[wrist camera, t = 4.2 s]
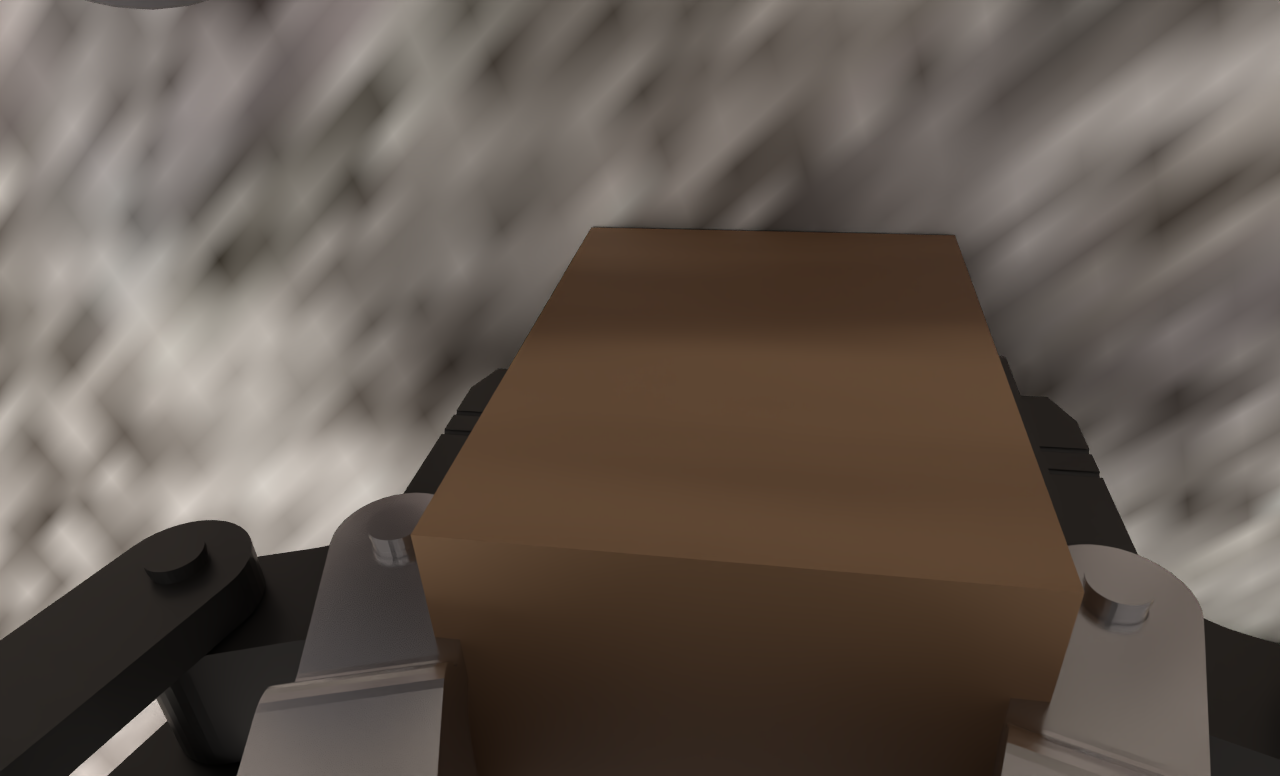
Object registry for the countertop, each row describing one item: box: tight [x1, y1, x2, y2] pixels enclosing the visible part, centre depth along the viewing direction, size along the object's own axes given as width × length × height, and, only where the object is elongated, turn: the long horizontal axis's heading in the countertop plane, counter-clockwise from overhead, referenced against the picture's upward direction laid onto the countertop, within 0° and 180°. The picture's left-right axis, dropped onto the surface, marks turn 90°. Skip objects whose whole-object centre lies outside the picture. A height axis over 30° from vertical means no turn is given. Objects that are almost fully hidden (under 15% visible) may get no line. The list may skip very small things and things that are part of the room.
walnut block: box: [411, 227, 1084, 776], centre depth 9 cm, size 4×4×6 cm
